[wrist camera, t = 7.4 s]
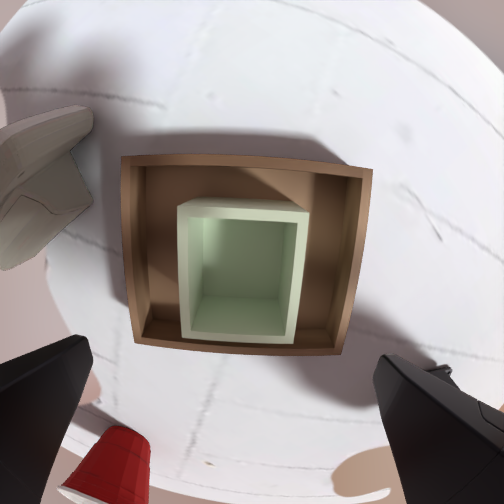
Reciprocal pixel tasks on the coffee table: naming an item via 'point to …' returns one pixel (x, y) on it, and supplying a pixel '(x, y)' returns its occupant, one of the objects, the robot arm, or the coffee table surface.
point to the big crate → (252, 187)
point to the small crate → (240, 268)
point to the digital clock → (40, 181)
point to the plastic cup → (112, 471)
